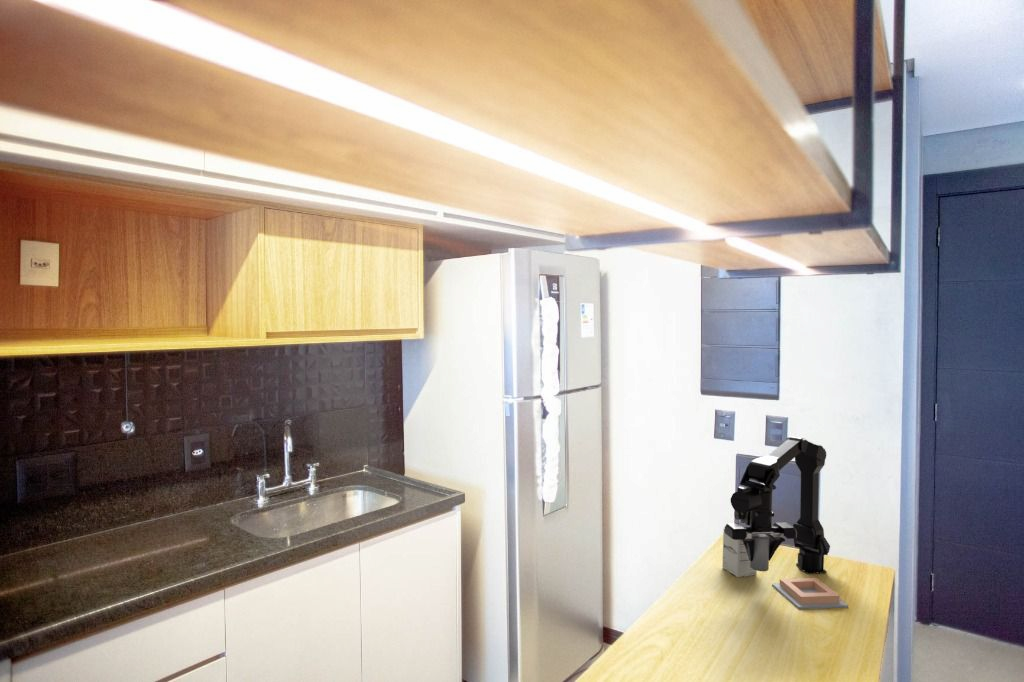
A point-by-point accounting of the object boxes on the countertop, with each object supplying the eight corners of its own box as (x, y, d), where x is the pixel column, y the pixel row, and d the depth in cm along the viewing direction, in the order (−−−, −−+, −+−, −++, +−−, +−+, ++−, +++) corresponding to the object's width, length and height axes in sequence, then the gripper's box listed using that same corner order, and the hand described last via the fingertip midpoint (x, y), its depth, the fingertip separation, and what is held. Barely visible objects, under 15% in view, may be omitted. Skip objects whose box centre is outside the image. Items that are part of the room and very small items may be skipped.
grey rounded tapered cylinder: (763, 564, 172) (764, 533, 172) (771, 571, 167) (772, 539, 167) (747, 564, 172) (747, 533, 171) (755, 571, 167) (756, 539, 167)
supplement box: (721, 568, 186) (722, 528, 186) (741, 565, 189) (742, 525, 188) (737, 578, 179) (738, 536, 179) (757, 575, 182) (758, 534, 181)
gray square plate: (817, 584, 176) (817, 575, 176) (848, 607, 162) (848, 598, 162) (771, 585, 175) (772, 576, 174) (798, 609, 161) (798, 599, 160)
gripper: (777, 497, 178) (776, 548, 178) (716, 498, 176) (715, 550, 177) (798, 509, 167) (797, 564, 167) (734, 510, 165) (732, 565, 166)
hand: (759, 560), depth 170 cm, fingers closed on grey rounded tapered cylinder, 5 cm apart
